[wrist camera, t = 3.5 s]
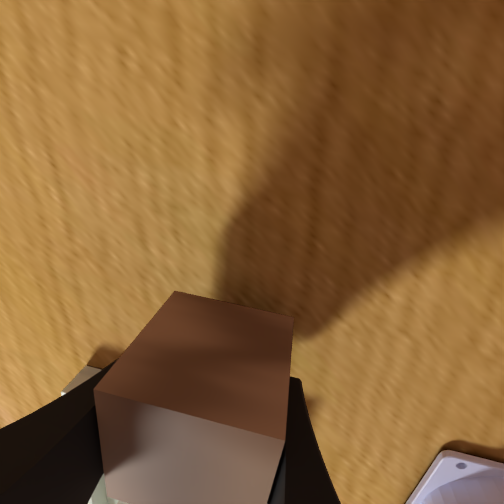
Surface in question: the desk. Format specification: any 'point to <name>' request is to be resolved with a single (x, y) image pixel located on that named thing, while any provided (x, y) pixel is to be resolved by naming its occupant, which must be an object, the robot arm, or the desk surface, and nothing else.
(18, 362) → the desk surface
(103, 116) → the desk surface
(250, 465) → the walnut block
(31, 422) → the robot arm
